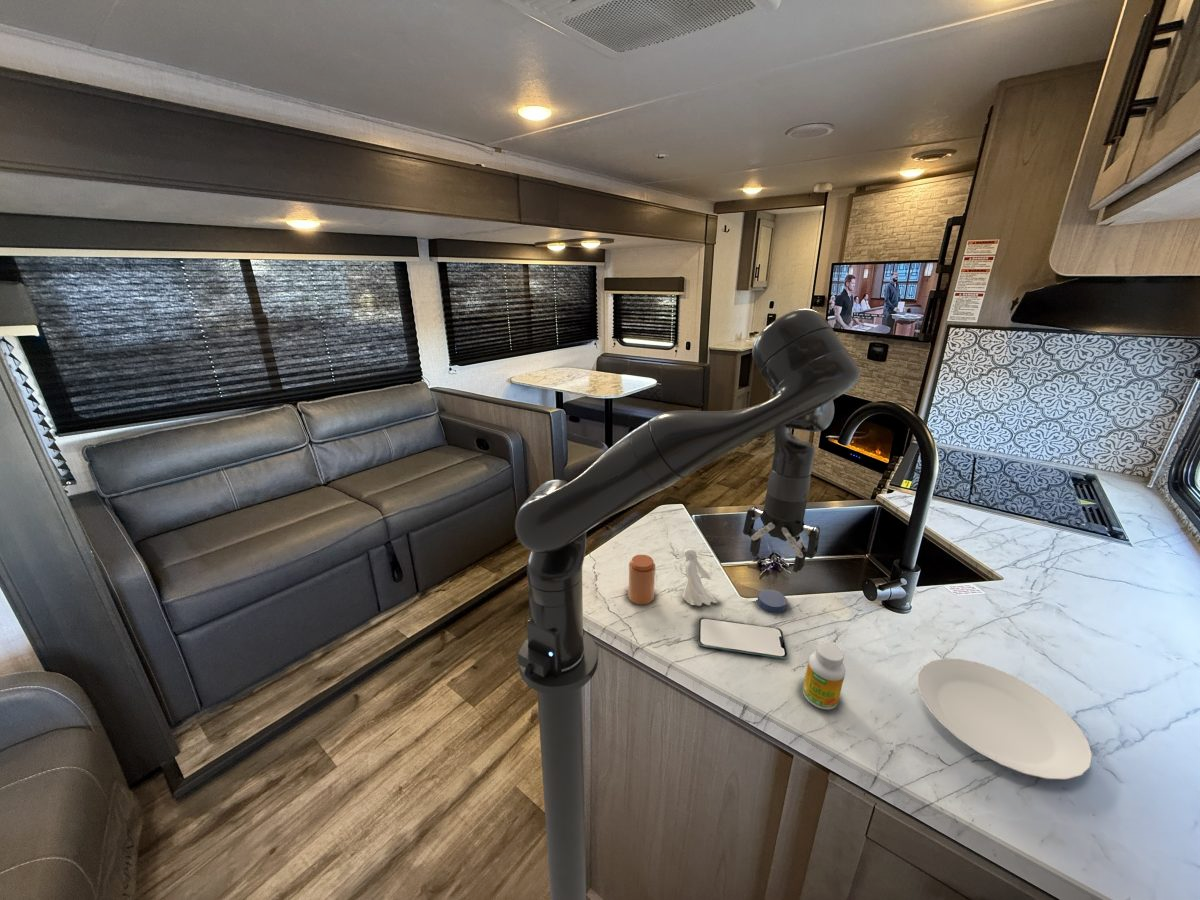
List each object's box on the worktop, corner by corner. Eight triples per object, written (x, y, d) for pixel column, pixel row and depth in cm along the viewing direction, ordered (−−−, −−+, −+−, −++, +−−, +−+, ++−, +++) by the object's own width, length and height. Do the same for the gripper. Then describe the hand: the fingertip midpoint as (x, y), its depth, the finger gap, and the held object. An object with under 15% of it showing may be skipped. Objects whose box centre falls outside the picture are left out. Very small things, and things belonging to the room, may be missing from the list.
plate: (947, 650, 86) (950, 641, 85) (1105, 740, 69) (1111, 729, 68) (889, 703, 75) (892, 692, 74) (1058, 823, 59) (1065, 811, 58)
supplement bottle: (801, 703, 75) (811, 657, 72) (803, 678, 80) (812, 634, 76) (837, 715, 73) (849, 668, 70) (837, 690, 78) (848, 645, 74)
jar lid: (766, 591, 102) (767, 585, 101) (791, 604, 98) (792, 599, 97) (751, 602, 99) (752, 596, 98) (776, 616, 94) (777, 610, 94)
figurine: (684, 584, 104) (687, 538, 100) (719, 592, 101) (724, 546, 97) (676, 605, 98) (679, 557, 93) (714, 614, 95) (719, 565, 91)
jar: (647, 607, 97) (648, 571, 94) (623, 599, 100) (624, 563, 96) (657, 593, 101) (659, 557, 98) (635, 585, 104) (636, 550, 101)
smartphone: (698, 647, 87) (787, 660, 83) (698, 644, 86) (788, 658, 83) (698, 618, 94) (781, 630, 90) (698, 616, 94) (781, 627, 90)
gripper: (831, 496, 88) (816, 567, 93) (759, 475, 96) (749, 542, 102) (819, 510, 82) (804, 585, 88) (744, 487, 91) (734, 557, 97)
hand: (775, 562), depth 95 cm, fingers open, 8 cm apart
